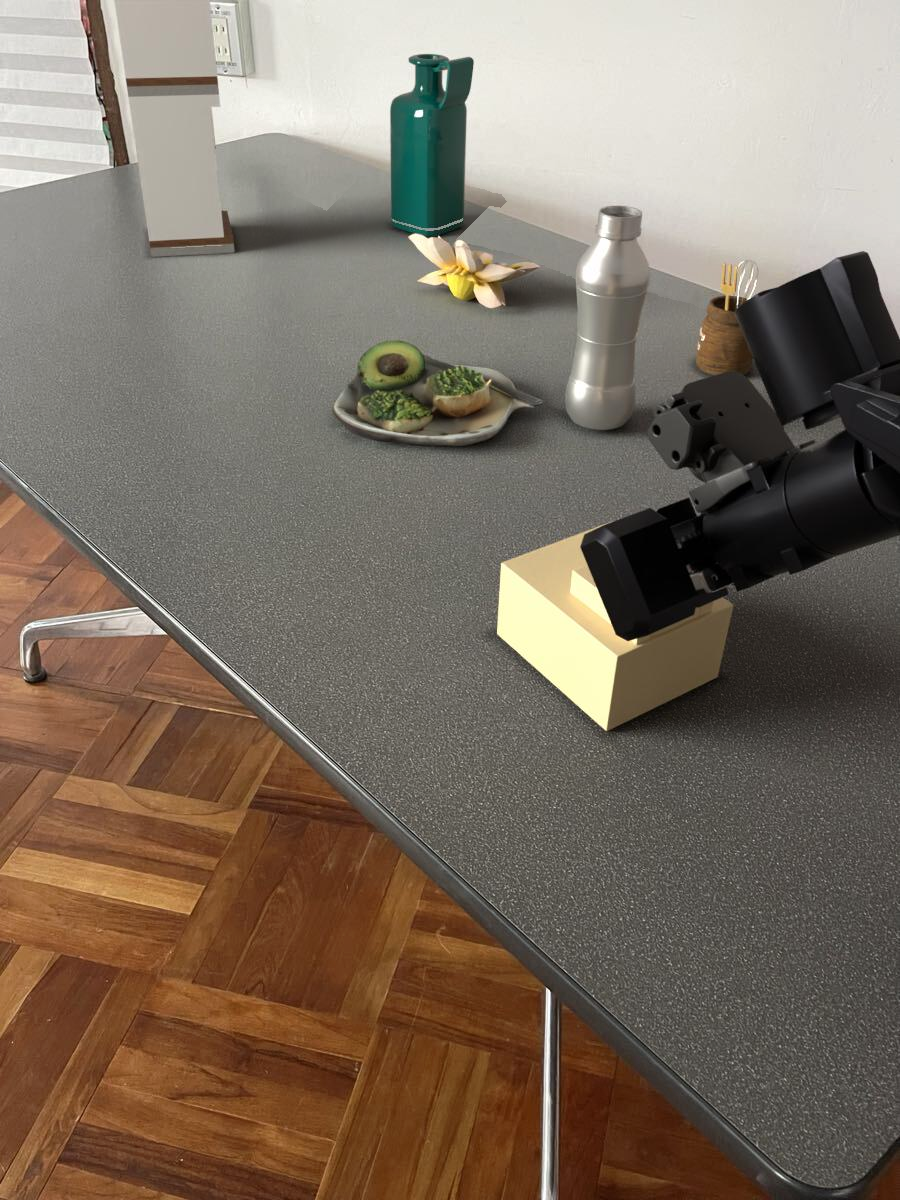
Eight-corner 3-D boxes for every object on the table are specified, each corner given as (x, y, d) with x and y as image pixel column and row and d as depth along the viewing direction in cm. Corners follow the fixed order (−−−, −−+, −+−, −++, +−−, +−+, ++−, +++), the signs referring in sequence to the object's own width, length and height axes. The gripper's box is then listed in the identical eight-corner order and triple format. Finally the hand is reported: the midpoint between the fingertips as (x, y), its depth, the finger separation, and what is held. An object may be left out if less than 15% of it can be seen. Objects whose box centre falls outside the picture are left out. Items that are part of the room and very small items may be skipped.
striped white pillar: (234, 252, 141) (204, -59, 120) (151, 256, 139) (105, -59, 118) (228, 225, 150) (199, -69, 129) (150, 229, 148) (107, -69, 127)
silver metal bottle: (636, 439, 101) (666, 224, 89) (565, 437, 101) (585, 222, 89) (627, 408, 106) (654, 201, 94) (559, 407, 106) (577, 199, 94)
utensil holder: (759, 365, 115) (781, 253, 108) (736, 385, 111) (758, 270, 104) (707, 351, 118) (726, 242, 111) (684, 370, 114) (702, 258, 107)
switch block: (718, 677, 73) (739, 582, 68) (606, 731, 69) (620, 633, 64) (603, 590, 81) (615, 499, 76) (496, 634, 77) (502, 540, 72)
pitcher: (385, 226, 151) (382, 53, 138) (424, 213, 156) (425, 45, 143) (437, 242, 146) (440, 64, 133) (476, 228, 151) (482, 55, 138)
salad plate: (555, 384, 110) (558, 342, 107) (521, 466, 96) (524, 420, 93) (375, 362, 114) (374, 320, 111) (317, 438, 100) (314, 392, 97)
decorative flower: (564, 285, 128) (553, 205, 122) (503, 331, 123) (488, 250, 117) (473, 262, 137) (458, 187, 131) (413, 304, 132) (394, 228, 126)
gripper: (885, 315, 58) (706, 416, 72) (628, 393, 50) (480, 491, 64) (965, 504, 58) (769, 569, 72) (719, 615, 50) (550, 665, 63)
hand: (648, 569), depth 68 cm, fingers closed, pressing on button
